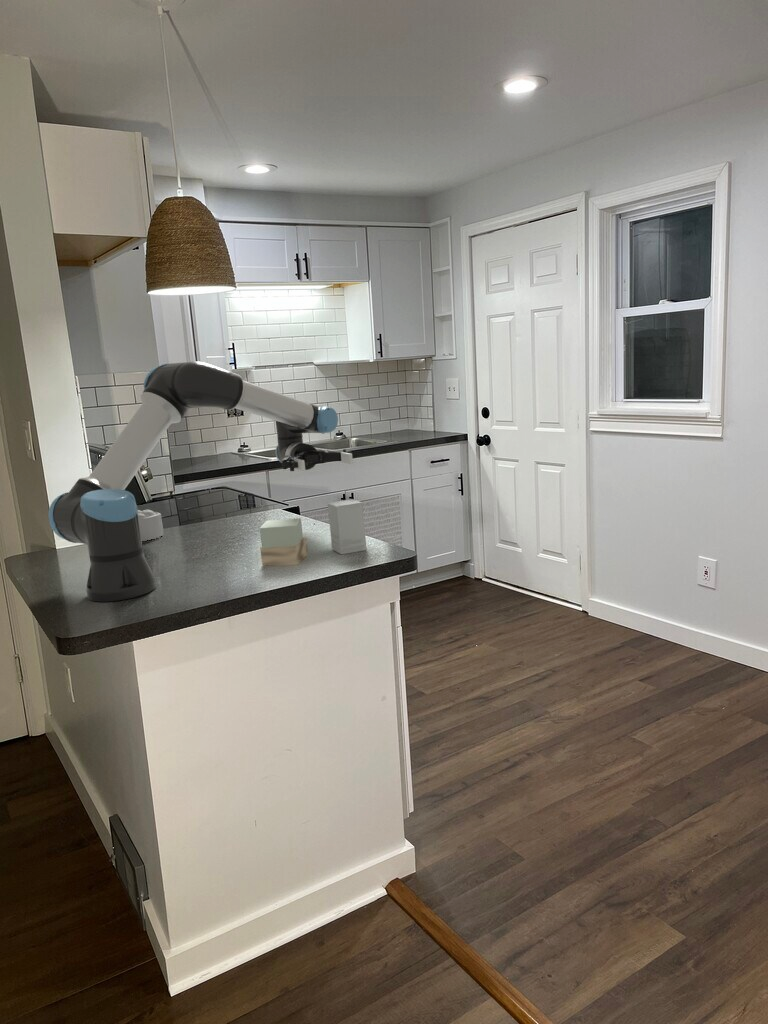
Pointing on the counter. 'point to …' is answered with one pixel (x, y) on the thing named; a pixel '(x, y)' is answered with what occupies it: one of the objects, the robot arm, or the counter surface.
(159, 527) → the white bumpy block
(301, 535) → the block top
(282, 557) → the block bottom
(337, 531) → the supplement box
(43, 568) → the counter surface
